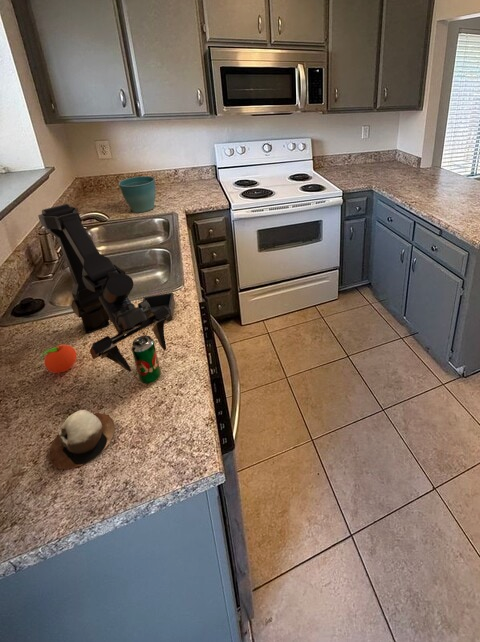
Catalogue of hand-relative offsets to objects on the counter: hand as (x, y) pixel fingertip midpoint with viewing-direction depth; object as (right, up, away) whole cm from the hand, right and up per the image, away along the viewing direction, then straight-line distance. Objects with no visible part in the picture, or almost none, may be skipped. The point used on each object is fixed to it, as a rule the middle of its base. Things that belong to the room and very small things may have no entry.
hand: (148, 360), depth 90 cm
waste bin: (-10, +4, +27) cm, 29 cm away
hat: (-8, -12, -12) cm, 19 cm away
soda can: (-1, -6, +3) cm, 7 cm away
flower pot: (-60, +38, +114) cm, 134 cm away
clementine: (-26, -5, +6) cm, 28 cm away
